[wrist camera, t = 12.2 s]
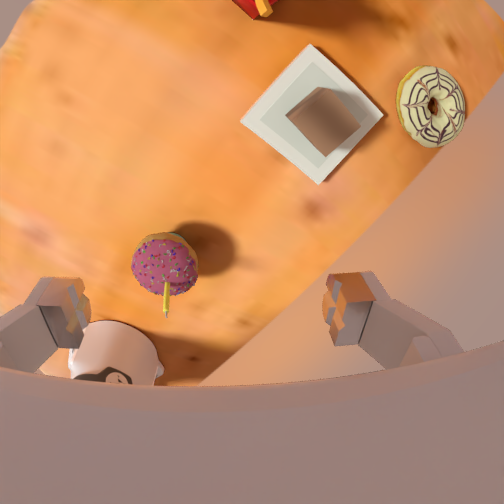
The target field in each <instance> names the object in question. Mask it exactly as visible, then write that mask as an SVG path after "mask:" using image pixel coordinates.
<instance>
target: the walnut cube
mask: <svg viewBox="0 0 504 504" xmlns="http://www.w3.org/2000/svg"><path fill="white" fill-rule="evenodd" d="M285 116H286V117H287V118H288V119H289V120H290V121H291V122H292V123H293V124H294V125H295V126H296V127H297V128H298V130H299V131H300V132H301V133H302V134H303V135H304V136H305V137H306V138H307V139H308V140H309V141H310V143H311V144H312V145H313V146H314V147H315V148H316V149H317V150H318V151H319V152H320V153H322V154H323V155H324V156H325V157H327V156H328V155H329V154H330V153H331V152H332V151H334V150H335V149H336V148H337V147H338V146H339V145H340V144H342V143H343V142H344V141H345V140H346V139H347V138H349V137H350V136H351V135H352V134H353V133H354V132H355V131H357V130H358V129H359V128H360V127H361V125H360V124H359V123H358V122H357V120H356V119H355V118H354V117H353V115H352V114H351V113H350V112H349V110H348V109H347V108H346V107H345V105H344V104H343V103H342V102H341V101H340V100H339V98H338V97H337V96H336V95H335V94H334V92H333V91H332V90H331V89H328V88H322V87H317V88H315V89H314V90H313V91H312V92H311V93H310V94H308V95H307V96H306V97H305V98H304V99H303V100H302V101H300V102H299V103H298V104H297V105H296V106H295V107H294V108H292V109H291V110H290V111H289V112H288V113H287V114H286V115H285Z"/></svg>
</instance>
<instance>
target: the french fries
mask: <svg viewBox="0 0 504 504" xmlns="http://www.w3.org/2000/svg"><path fill="white" fill-rule="evenodd" d="M232 1H233V2H234V3H235V4H237V5H238V6H239V7H240V8H241V9H242V10H243V11H244V12H245V13H246V14H248V15H249V16H250V17H251V18H252V19H254V18H256V17H257V16H258V15H261V16H263V17H268V16H269V15H270V14H271V13H272V12H273V10H272V8H271V6H272V5H273V4H274V3H276V2H277V1H279V0H232Z"/></svg>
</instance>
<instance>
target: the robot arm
mask: <svg viewBox="0 0 504 504" xmlns="http://www.w3.org/2000/svg"><path fill="white" fill-rule="evenodd" d="M326 285H327V288H328V291H327V293H326V294H325V295H324V298H323V305H322V306H323V316H324V319H325V322H326V323H327V324H329V325H330V326H331V327H330V331H329V333H330V335H331V338H332V340H333V343H334V346H343V345H354V344H359V346H360V347H361V348H362V349H363V350H365V351H366V352H367V353H368V354H369V355H370V356H372V357H373V358H374V359H375V360H376V361H377V362H378V363H380V364H381V365H382V366H383V367H384V368H385V369H386V370H381V371H375V372H369V373H363V374H357V375H350V376H343V377H336V378H328V379H320V380H312V381H311V380H310V381H300V382H289V383H276V384H262V385H240V386H202V387H201V386H200V387H199V386H154V382H155V379H156V378H158V377H159V376H161V375H163V373H164V370H165V369H164V367H163V365H162V364H161V363H160V361H159V360H158V356H157V351H156V348H155V346H154V345H153V343H152V342H151V341H150V340H149V339H148V338H147V337H146V336H145V335H144V334H143V333H141V332H140V331H138V330H137V329H135V328H133V327H131V326H129V325H126V324H123V323H120V322H116V321H97V322H93V323H89V322H90V318H91V307H90V302H89V299H88V298H87V297H86V296H85V295H84V294H83V292H84V290H85V286H84V284H83V281H82V279H80V278H75V277H42V278H41V279H40V280H39V282H38V283H37V285H36V286H35V288H34V289H33V291H32V292H31V294H30V295H29V297H28V298H27V300H26V301H25V303H24V304H23V305H18V306H17V307H15V308H14V309H12V310H11V311H9V312H8V313H6V314H4V315H3V316H1V317H0V504H504V340H503V341H500V342H497V343H494V344H490V345H487V346H484V347H480V348H477V349H473V350H470V351H466V352H464V351H463V349H462V348H461V346H460V345H459V343H458V342H457V340H456V339H455V338H454V336H453V335H452V333H451V332H450V330H449V329H447V328H445V327H443V326H442V325H440V324H438V323H436V322H435V321H433V320H431V319H429V318H428V317H426V316H424V315H422V314H421V313H419V312H417V311H415V310H414V309H412V308H410V307H408V306H407V305H405V304H403V303H401V302H399V301H397V300H396V299H391V298H390V296H389V295H388V293H387V292H386V290H385V289H384V288H383V286H382V284H381V283H380V282H379V280H378V279H377V277H376V276H375V274H374V273H373V272H372V271H365V272H356V273H339V274H338V273H337V274H329V276H328V278H327V282H326ZM58 348H69V349H70V352H69V361H68V368H69V369H70V370H71V379H69V378H62V377H55V376H48V375H41V374H35V373H34V372H35V371H36V370H37V369H38V368H39V367H40V366H41V365H42V364H43V363H44V362H45V361H46V360H47V359H48V358H49V357H50V356H51V355H52V354H53V353H54V352H55V351H56V350H57V349H58Z"/></svg>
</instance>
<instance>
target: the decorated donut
mask: <svg viewBox="0 0 504 504" xmlns="http://www.w3.org/2000/svg"><path fill="white" fill-rule="evenodd" d="M430 99H433V101H434V103H435V108H436V109H435V112H434V113H433V114H431V112H430V111H429V109H428V108H427V106H428V103H429V101H430ZM396 109H397V114H398V118H399V120H400V122H401V125H402V127H403V128H404V130H405V131H406V132H407V133H408V134H409V135H410V136H411V137H412V138H413V139H414V140H416V141H418V142H419V143H420V144H421V145H422V146H424V147H428V148H433V147H439V146H444V145H446V144H448V143H449V142H451V141H452V140H454V139H455V138H456V137H457V136H458V134H459V133H460V132H461V130H462V128H463V126H464V119H465V101H464V97H463V94H462V91H461V89H460V87H459V85H458V83H457V82H456V81H455V79H454V78H453V77H452V76H451V75H450V74H449V73H448V72H447V71H446V70H444V69H442V68H437V67H433V66H418V67H415V68H414V69H412V70H411V71H410V72H409V73H408V74H406V75H405V76H404V78H403V79H402V80H401V81H400V83H399V86H398V90H397V93H396Z"/></svg>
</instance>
